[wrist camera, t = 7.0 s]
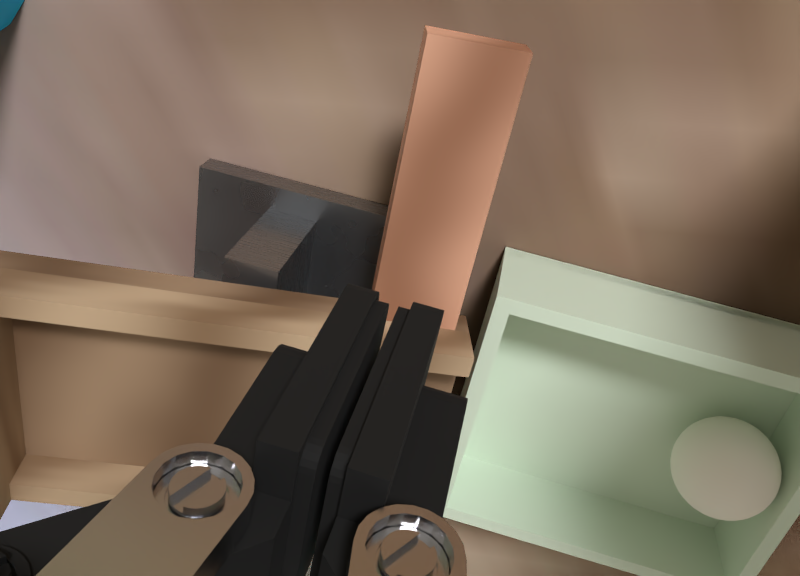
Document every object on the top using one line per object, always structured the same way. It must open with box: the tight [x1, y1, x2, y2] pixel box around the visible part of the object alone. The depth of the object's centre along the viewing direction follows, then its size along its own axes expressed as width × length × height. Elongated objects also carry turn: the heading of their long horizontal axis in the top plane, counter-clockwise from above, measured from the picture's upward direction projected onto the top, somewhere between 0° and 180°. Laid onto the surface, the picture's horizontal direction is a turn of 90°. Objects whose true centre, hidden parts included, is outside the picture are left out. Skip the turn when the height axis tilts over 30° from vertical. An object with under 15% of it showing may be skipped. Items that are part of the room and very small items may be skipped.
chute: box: [0, 25, 533, 519], centre depth 23 cm, size 16×18×4 cm
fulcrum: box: [194, 159, 389, 298], centre depth 30 cm, size 8×12×5 cm, turn 168°
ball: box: [670, 416, 782, 521], centre depth 28 cm, size 4×4×4 cm
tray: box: [443, 247, 800, 576], centre depth 29 cm, size 13×11×4 cm
